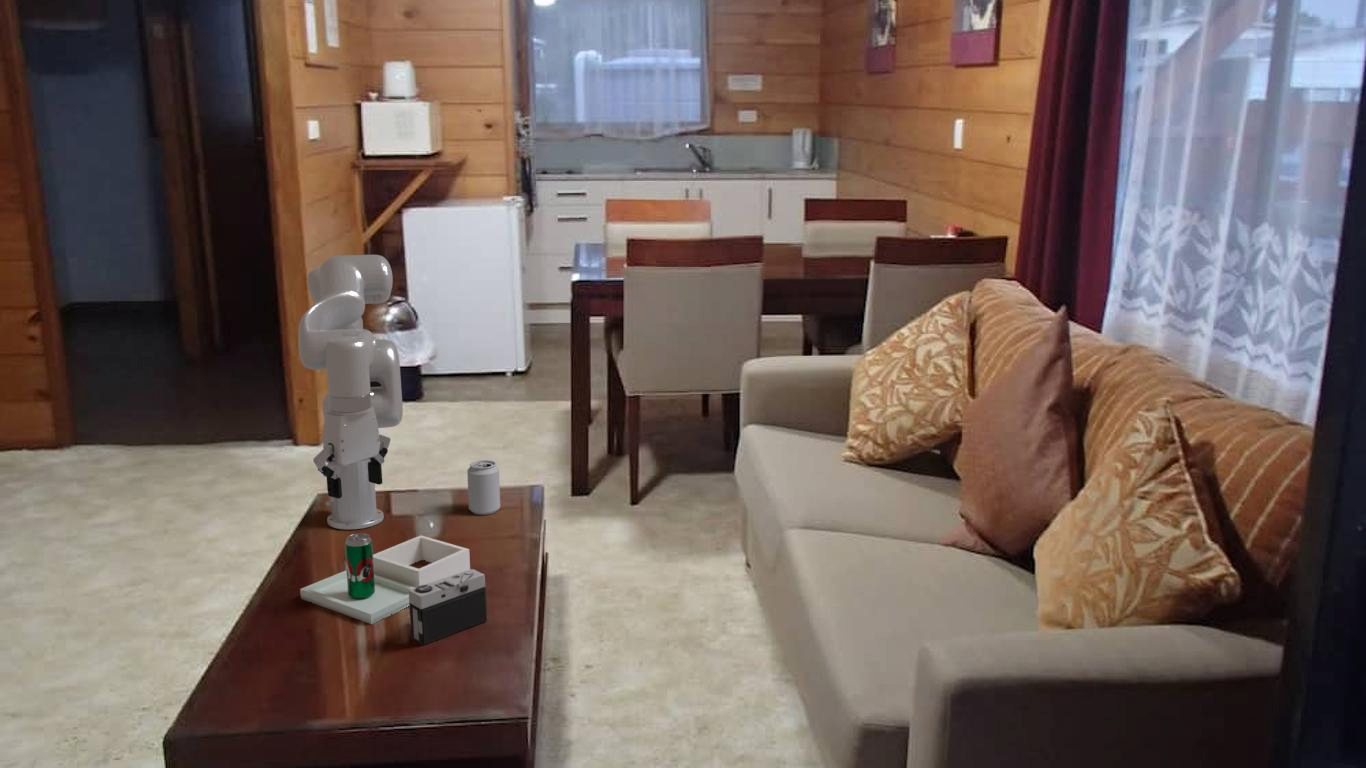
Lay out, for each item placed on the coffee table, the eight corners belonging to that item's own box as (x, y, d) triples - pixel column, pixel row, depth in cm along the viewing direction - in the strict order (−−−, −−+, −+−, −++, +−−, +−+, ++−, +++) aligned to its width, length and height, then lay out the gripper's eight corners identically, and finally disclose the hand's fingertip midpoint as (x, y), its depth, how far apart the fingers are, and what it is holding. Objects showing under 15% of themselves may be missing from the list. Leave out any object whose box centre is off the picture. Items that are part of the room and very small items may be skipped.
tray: (300, 598, 209) (300, 589, 208) (353, 576, 219) (353, 567, 219) (371, 624, 198) (370, 614, 198) (423, 599, 209) (422, 590, 208)
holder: (371, 579, 218) (369, 556, 217) (422, 557, 230) (420, 535, 228) (420, 595, 211) (418, 571, 210) (470, 571, 222) (469, 549, 221)
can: (497, 516, 254) (495, 468, 252) (465, 515, 255) (463, 467, 252) (503, 505, 262) (501, 458, 259) (472, 505, 262) (470, 458, 259)
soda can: (379, 590, 211) (375, 532, 208) (369, 601, 206) (365, 542, 203) (354, 588, 212) (350, 531, 209) (343, 599, 207) (339, 541, 204)
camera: (463, 608, 205) (461, 560, 203) (488, 622, 200) (486, 572, 197) (398, 632, 195) (395, 581, 193) (423, 647, 190) (420, 594, 188)
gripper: (372, 391, 209) (377, 474, 213) (298, 409, 195) (305, 498, 199) (399, 396, 205) (403, 481, 209) (325, 415, 191) (332, 506, 195)
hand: (355, 489), depth 204 cm, fingers open, 9 cm apart
